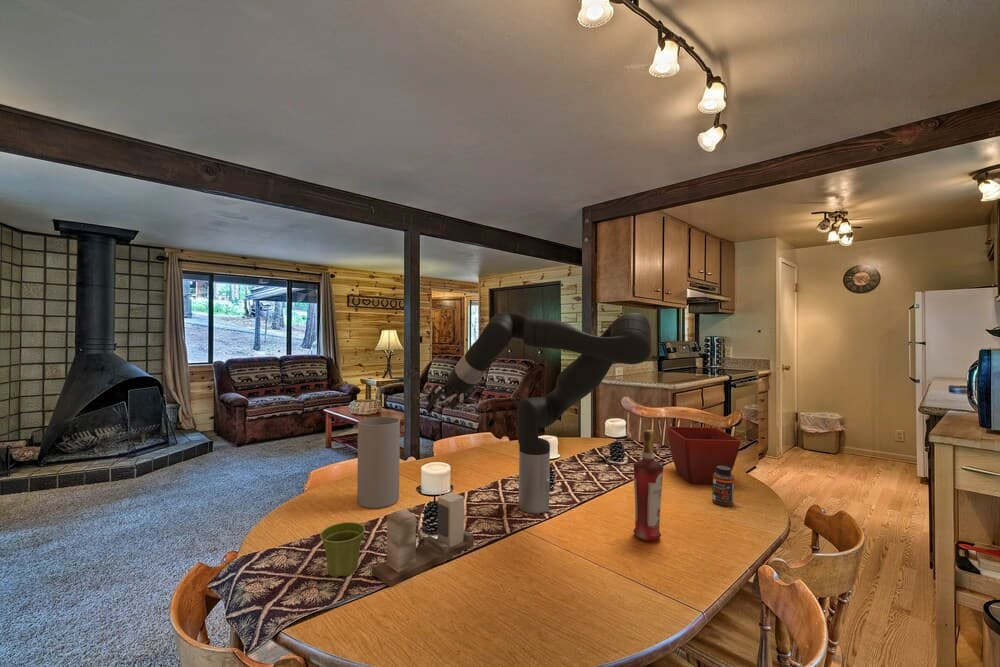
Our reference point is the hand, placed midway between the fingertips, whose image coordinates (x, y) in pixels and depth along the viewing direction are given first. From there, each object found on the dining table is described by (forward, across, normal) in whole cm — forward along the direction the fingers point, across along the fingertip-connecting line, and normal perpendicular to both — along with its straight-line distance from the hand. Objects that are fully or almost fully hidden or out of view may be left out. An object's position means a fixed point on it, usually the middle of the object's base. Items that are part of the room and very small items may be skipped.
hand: (439, 409), depth 126 cm
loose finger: (+9, -10, -32) cm, 35 cm away
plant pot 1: (+17, -33, -27) cm, 46 cm away
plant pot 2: (-10, +87, -53) cm, 102 cm away
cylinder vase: (+37, -6, -7) cm, 38 cm away
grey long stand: (+10, -17, -33) cm, 39 cm away
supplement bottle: (-19, +68, -62) cm, 94 cm away
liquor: (-13, +29, -57) cm, 65 cm away
